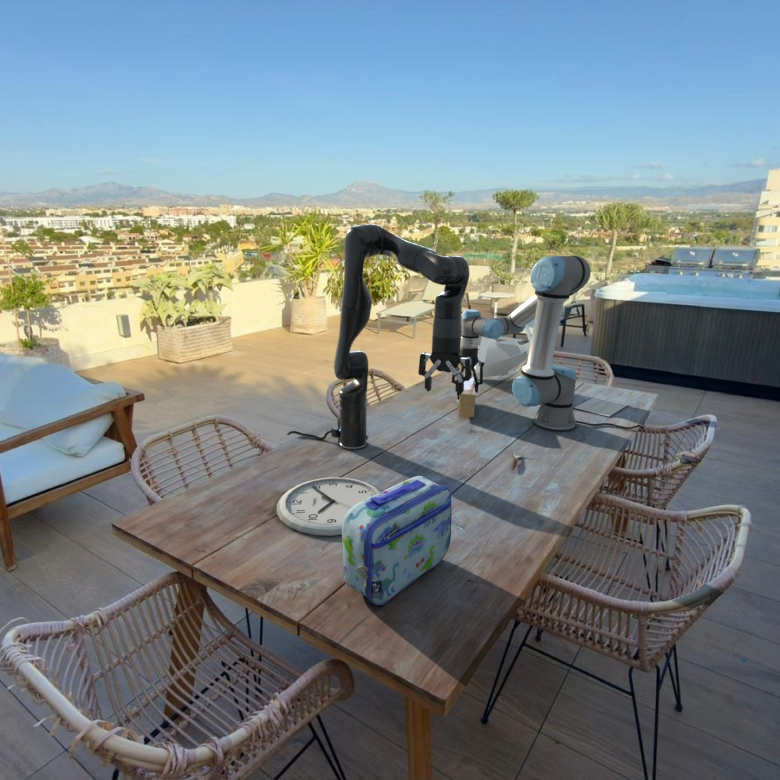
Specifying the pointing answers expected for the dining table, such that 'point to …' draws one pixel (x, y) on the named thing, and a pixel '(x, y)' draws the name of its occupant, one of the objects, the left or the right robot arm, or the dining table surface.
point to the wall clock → (322, 504)
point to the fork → (516, 457)
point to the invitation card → (601, 406)
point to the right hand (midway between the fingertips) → (466, 398)
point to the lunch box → (395, 537)
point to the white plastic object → (501, 355)
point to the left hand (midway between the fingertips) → (443, 392)
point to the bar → (467, 399)
